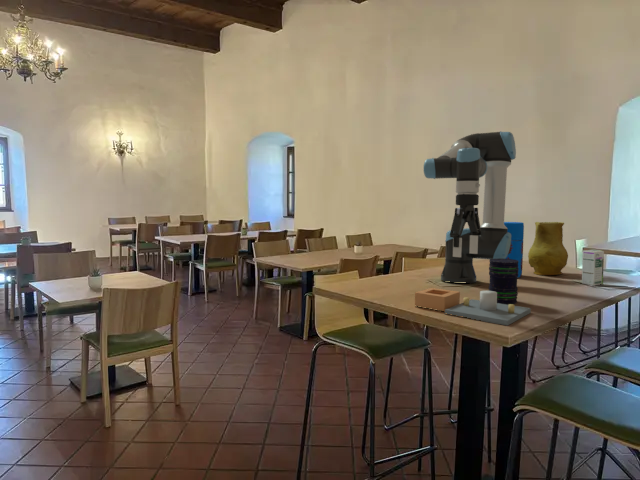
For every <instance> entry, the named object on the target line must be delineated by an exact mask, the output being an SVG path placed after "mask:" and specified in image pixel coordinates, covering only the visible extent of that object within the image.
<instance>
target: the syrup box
mask: <svg viewBox="0 0 640 480" xmlns="http://www.w3.org/2000/svg"><path fill="white" fill-rule="evenodd" d="M604 256H605V251H604V250H601V249H589V250H588V249H587V250H586V249H585V250H582V265H581V267H582V268H581V271H582V273H581V283H582V285H588V286H599V285H600V284H602V285H603V284H604V263H605V261H604V260H605V257H604Z"/></svg>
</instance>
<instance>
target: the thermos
mask: <svg viewBox="0 0 640 480" xmlns="http://www.w3.org/2000/svg"><path fill="white" fill-rule="evenodd" d="M504 225H505V226H506V227H507V228H508V230H507V232H509V233H511V245H510V249H509V253H508V255H507V257H506V258H505V259H514V260H518V268H519V270H518V277H517V279H518V278H522V274H523V265H524V264H523V259H524V256H523V255H524V236H525V235H524V234H525V233H524V232H525V226H524V225H525V224H524V222H521V221H519V222H518V221H504Z"/></svg>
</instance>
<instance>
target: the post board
mask: <svg viewBox="0 0 640 480" xmlns="http://www.w3.org/2000/svg"><path fill="white" fill-rule="evenodd" d="M531 310H532V308H531V307H526V306H519V305H515V304H508V305H506V304H500V303H497V292H495V291H488V290H480V291H479V299H470V297H463V302H461V303H460V304H458V305H456V306H453V307H451V308H448V309H445V312H444V314H445V313H447V314H452V315H457V316H463V317H467V318H466V319H468V318H471V319H470V320H474V319H476V320H475V321H479V320H481V321H480V322H485V323H490V324H496V325H503V326H510V325H511V324H513V323H515V322H517V321H519V320H520V319H522V318H524V317H525V316H527V315H529V314H531V313H532V311H531ZM457 316H456V317H457Z"/></svg>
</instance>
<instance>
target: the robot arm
mask: <svg viewBox="0 0 640 480" xmlns="http://www.w3.org/2000/svg"><path fill="white" fill-rule="evenodd" d="M516 154H517V149H516V141H515V137H514V134H513V133H512V132H511V131H495V132H494V131H493V132H482V133H481V132H480V133H479V132H478V133H471V134H468V135H466V136H463V137H460V138H459V139H458V140H456V141H454V142H453V144H451V146H450V148H449V149H448V150H446V151H445V152H444V153H442V154H441V155H439V156H438V157H437V158H436V157H432V158H427V159H425V161H424V163H423V174H424V175H423V176H424V178H426V179H434V180H436V179H456V180H455V193H456V195H455V205H456V206H459V207H455V208H454V216H453V218H452V219H453V220H452V224H451V228H450V229H449V230H448V231H447V232H446V234H445V241H444V242H445V255H444V256H445V258H444V259H445V262H444V265H443V269H442V271H441V274H440V281H441V280H443V281H450V282H466V283H470V284H475V283H477V275H476V272H475V268H474V264H473V263H474V262H473V261H474V259H478V260H490V259H497V258H501V259H505V258H506V257H507V255H508V253H509V249H510V245H511V233H509V232H507V230H508V228H507V227H506V226H505V225H504V222H505V213H506V192H507V174H508V167H510V166H511V165H512V161H513V160H516V158H517V156H516ZM483 176H484V190H483V191H484V193H483V194H484V195H483V206H482V207H483V210H482V211H483V212H482V223H480V218H479V217H480V216H479V208H478V207H475V206H479V203H480V202H479V200H480V198H479V197H480V196H479V195H478V194H479V193H480V192H479V191H480V187H481V184H480V178H483ZM466 223H467V225H468V228H465V226H466ZM443 281H442V282H443Z"/></svg>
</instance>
